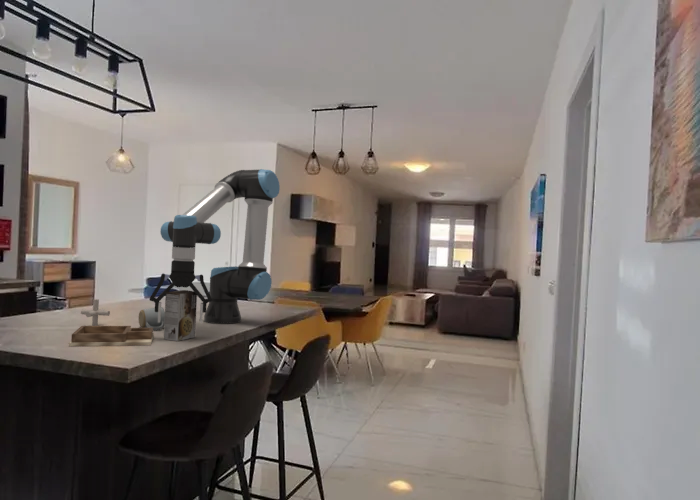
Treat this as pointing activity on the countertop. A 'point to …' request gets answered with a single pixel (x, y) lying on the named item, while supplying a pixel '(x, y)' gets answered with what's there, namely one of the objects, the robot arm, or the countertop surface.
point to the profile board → (111, 336)
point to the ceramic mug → (151, 319)
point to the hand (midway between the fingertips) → (180, 322)
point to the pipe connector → (95, 312)
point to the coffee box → (180, 315)
